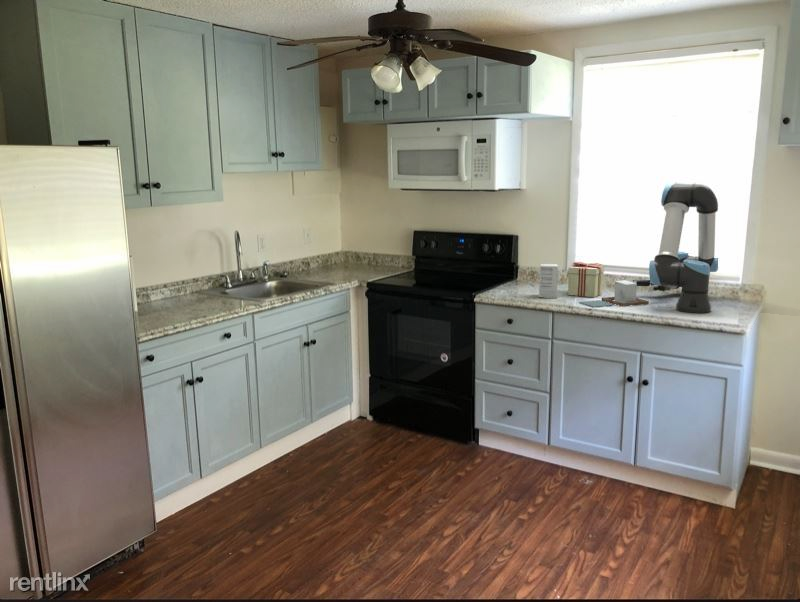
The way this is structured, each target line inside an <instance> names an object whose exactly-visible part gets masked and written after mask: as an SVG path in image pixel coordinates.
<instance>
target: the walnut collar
mask: <svg viewBox="0 0 800 602" xmlns="http://www.w3.org/2000/svg"><path fill="white" fill-rule="evenodd" d="M614 297H615V296H607V297H606V296H605V297H601V301H606V302H607V303H608V302H609V303H612V304H616V305H615V306H618V305H619V307H621V306H624V307H631V306H630V305H634V306H642V305H641V304H645V305H649V304H650V302H649V301H650V300H649V301H648V300H646V299H642V298H638V297H636V302H629V303H620V302H617V301H614ZM637 301H638V302H637Z"/></svg>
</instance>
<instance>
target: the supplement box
mask: <svg viewBox="0 0 800 602" xmlns="http://www.w3.org/2000/svg"><path fill="white" fill-rule="evenodd" d="M558 274H559V266H558V264H557V263H540V264H539V287H538V289H539V290H538V296H539V297H549V298H548V299H557V298H558V282H559V281H558V280H559V279H558V277H559V275H558ZM539 297H538V298H539Z"/></svg>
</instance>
